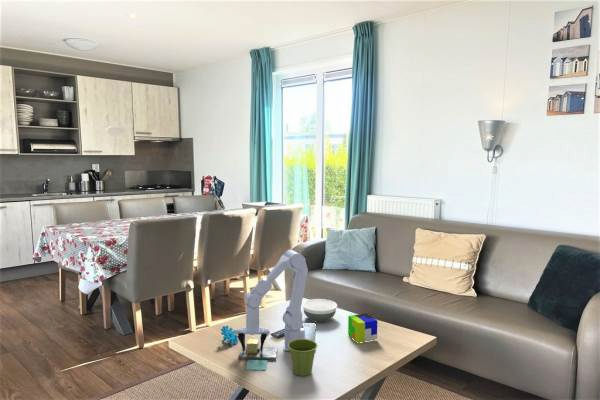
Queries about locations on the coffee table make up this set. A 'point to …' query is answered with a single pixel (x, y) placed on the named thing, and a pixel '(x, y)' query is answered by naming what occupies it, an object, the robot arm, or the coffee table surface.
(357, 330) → the puzzle toy
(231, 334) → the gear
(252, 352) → the brass block
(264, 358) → the rail plate
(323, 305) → the bowl
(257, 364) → the teal mat
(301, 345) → the plant pot
